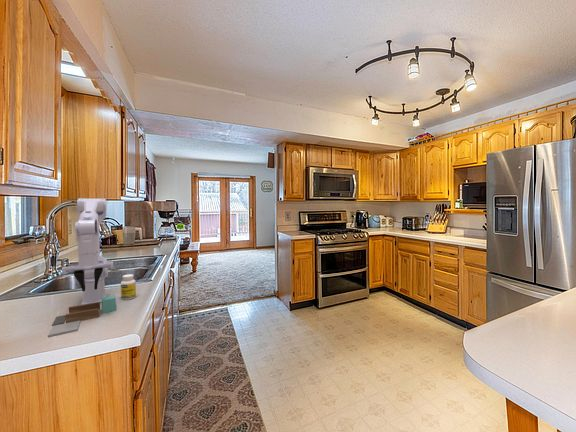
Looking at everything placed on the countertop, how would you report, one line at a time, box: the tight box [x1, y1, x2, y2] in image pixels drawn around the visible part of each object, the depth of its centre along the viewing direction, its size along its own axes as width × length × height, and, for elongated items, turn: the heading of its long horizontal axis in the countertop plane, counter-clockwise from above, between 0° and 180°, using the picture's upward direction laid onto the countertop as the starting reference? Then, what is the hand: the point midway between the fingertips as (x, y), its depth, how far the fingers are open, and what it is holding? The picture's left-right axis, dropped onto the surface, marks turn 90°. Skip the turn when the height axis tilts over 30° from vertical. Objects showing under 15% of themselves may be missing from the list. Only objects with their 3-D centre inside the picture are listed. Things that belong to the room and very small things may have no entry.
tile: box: [47, 320, 81, 338], centre depth 81 cm, size 7×7×1 cm
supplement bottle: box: [120, 273, 137, 301], centre depth 108 cm, size 5×5×10 cm
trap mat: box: [51, 314, 66, 327], centre depth 87 cm, size 7×3×1 cm, turn 34°
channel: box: [64, 302, 101, 323], centre depth 91 cm, size 8×9×3 cm
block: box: [101, 294, 117, 314], centre depth 96 cm, size 4×4×5 cm
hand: (89, 289), depth 91 cm, fingers open, 3 cm apart
